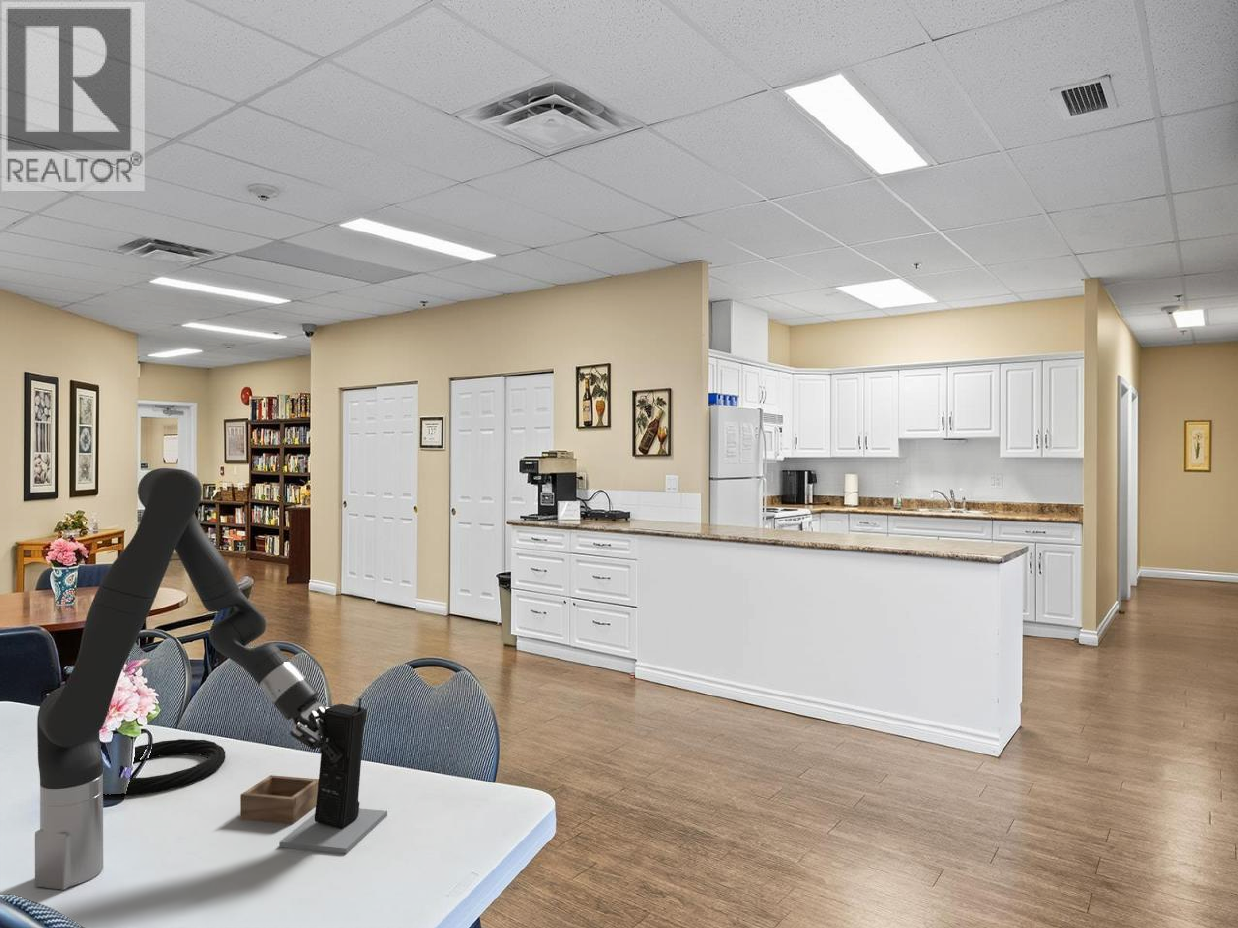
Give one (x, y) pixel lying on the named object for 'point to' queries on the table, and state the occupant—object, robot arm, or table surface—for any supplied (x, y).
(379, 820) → the slate mat
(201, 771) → the cable lock
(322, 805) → the portable radio
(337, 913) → the table surface
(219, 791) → the table surface
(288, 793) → the walnut collar
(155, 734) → the table surface
